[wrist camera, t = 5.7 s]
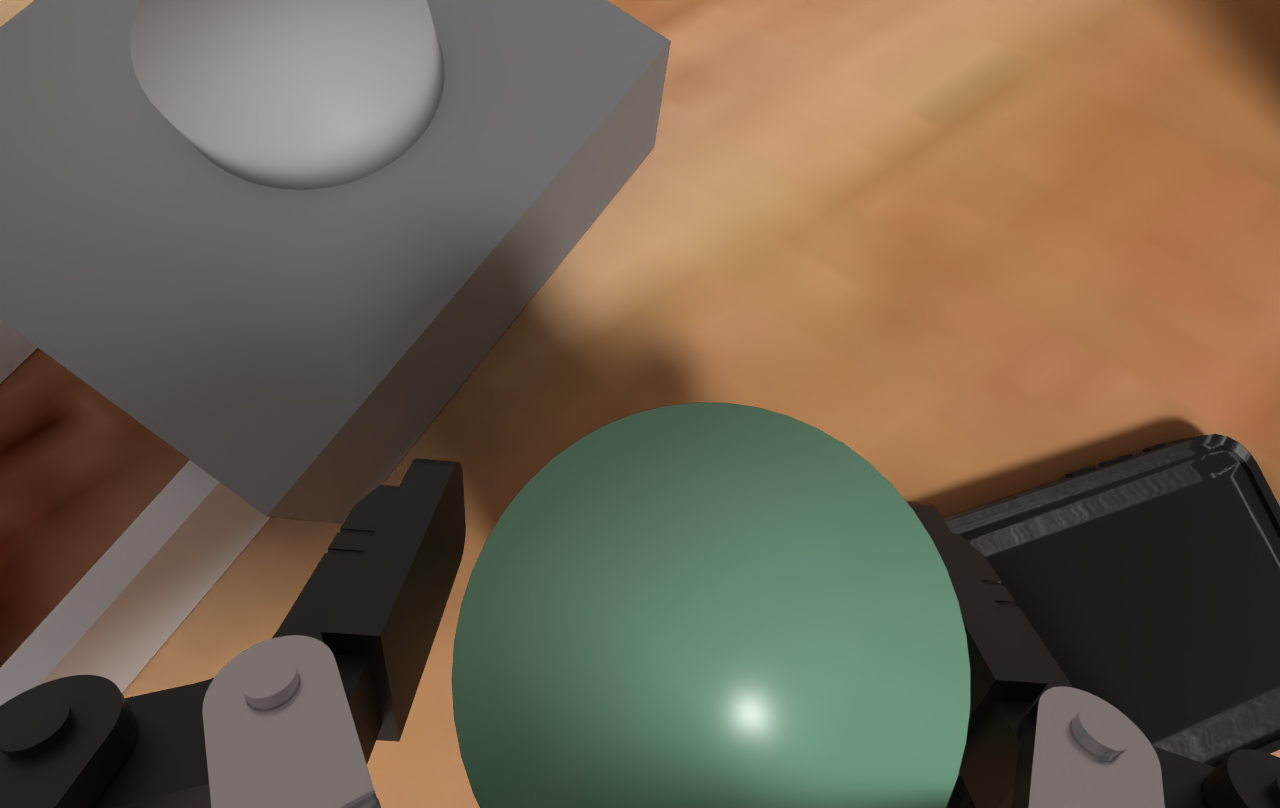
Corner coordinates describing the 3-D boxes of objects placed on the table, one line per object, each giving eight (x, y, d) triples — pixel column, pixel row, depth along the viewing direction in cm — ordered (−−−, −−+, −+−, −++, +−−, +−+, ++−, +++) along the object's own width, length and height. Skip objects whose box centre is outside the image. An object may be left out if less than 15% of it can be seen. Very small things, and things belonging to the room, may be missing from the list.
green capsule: (615, 450, 16) (645, 314, 6) (770, 555, 16) (1050, 579, 6) (503, 612, 15) (336, 744, 5) (668, 729, 15) (812, 1099, 5)
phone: (1382, 704, 16) (868, 931, 13) (1330, 694, 17) (847, 901, 14) (1235, 420, 17) (752, 581, 15) (1196, 428, 18) (741, 579, 16)
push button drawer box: (350, -50, 19) (264, -261, 14) (654, 146, 19) (677, -3, 13) (-271, 508, 14) (-748, 487, 9) (113, 816, 13) (-178, 980, 8)
